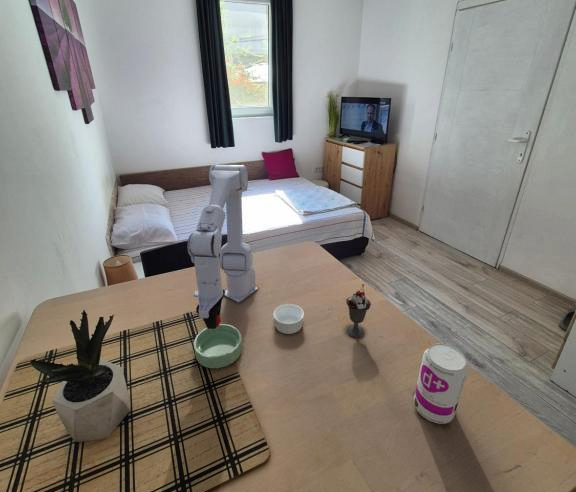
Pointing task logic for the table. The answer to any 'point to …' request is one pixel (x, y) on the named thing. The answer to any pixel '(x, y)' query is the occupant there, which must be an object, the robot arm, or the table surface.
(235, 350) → the bowl
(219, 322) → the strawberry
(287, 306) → the ramekin
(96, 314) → the table surface
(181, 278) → the table surface
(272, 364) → the table surface
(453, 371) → the supplement can
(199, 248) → the robot arm
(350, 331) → the sundae
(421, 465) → the table surface
